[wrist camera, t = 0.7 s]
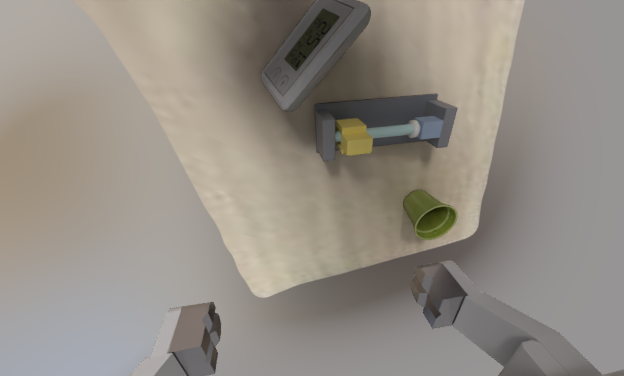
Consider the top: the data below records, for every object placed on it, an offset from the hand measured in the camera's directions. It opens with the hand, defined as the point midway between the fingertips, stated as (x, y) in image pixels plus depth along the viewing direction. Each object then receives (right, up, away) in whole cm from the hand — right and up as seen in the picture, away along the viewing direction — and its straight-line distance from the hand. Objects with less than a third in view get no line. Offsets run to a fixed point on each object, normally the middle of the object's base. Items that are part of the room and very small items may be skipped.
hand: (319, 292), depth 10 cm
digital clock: (-2, +26, +29) cm, 39 cm away
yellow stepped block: (+6, +14, +34) cm, 38 cm away
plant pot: (+24, +1, +50) cm, 55 cm away
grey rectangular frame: (+12, +17, +37) cm, 43 cm away
